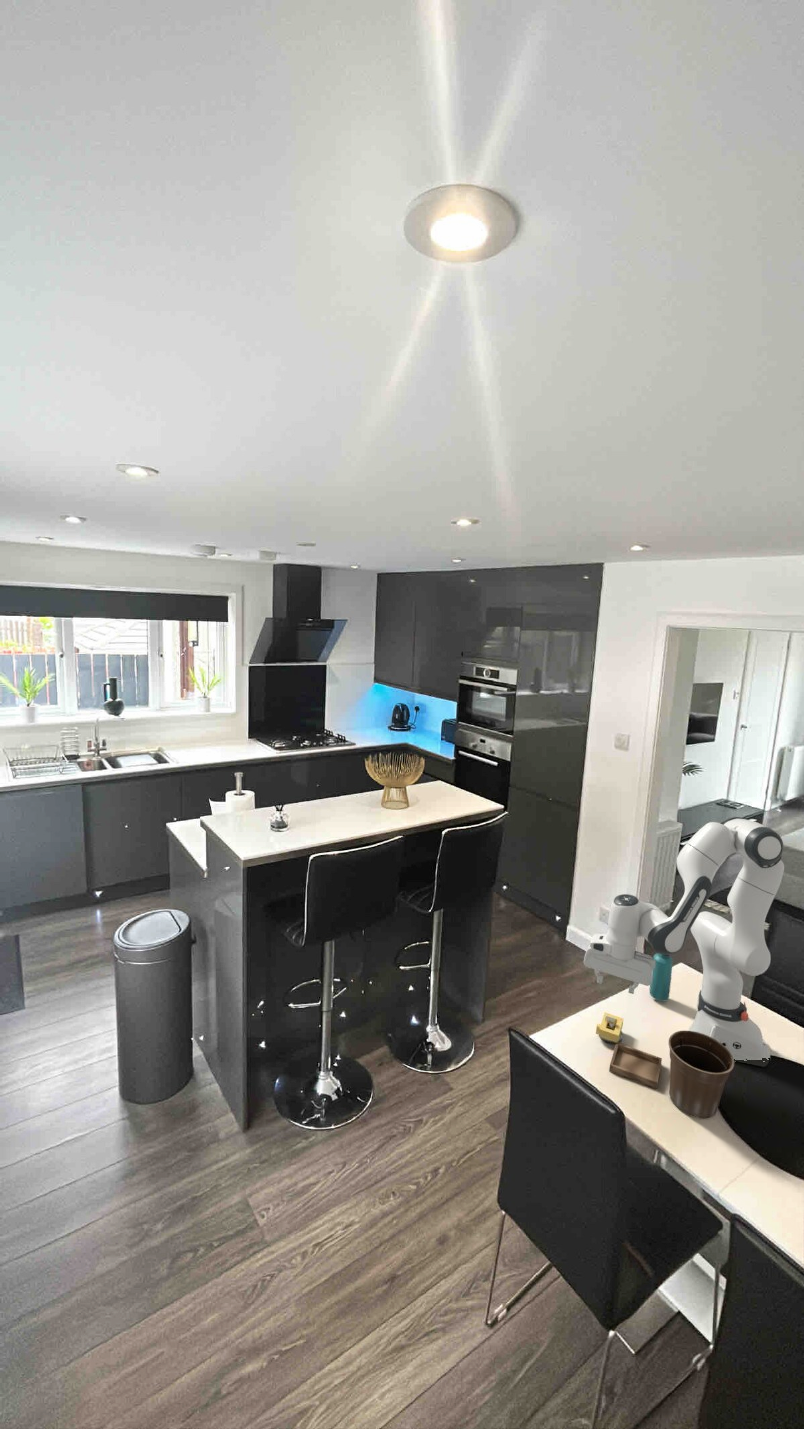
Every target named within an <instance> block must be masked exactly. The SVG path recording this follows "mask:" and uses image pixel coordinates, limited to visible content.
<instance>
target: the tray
mask: <svg viewBox="0 0 804 1429" xmlns="http://www.w3.org/2000/svg"><path fill="white" fill-rule="evenodd" d="M662 1060H663V1058H662V1057H659V1056H656V1055H653V1054H651V1053H648V1052H645V1051H643V1050H639V1049H636V1048H634V1047H631V1046H629V1045H625V1044H623V1043H616V1045H615V1046H614V1050H613V1054H612V1056H611V1060H610V1063H609V1069H608V1072H610V1073H612V1074H614V1075H617V1076H620V1077H623V1078H625V1079H628V1080H631V1081H634V1082H636V1083H639V1084H641V1085H643V1086H646V1087H649V1088H652V1089H655V1090H657V1089H658V1083H659V1078H660V1073H661V1067H662Z"/></svg>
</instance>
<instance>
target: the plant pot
mask: <svg viewBox="0 0 804 1429" xmlns="http://www.w3.org/2000/svg"><path fill="white" fill-rule="evenodd" d="M668 1048H669V1059H670V1063H669V1064H670V1067H669V1083H668V1084H669V1085H668V1086H669V1087H668V1094H669V1098H670V1101H671V1102H672V1103H673V1105H674V1106H675V1107H676V1108H677V1109H679V1110H680V1111H681V1112H682V1113H684V1114H685V1115H687V1116H689V1117H698V1118H699V1119H700V1120H706V1119H710V1118H713V1117H714V1116H715V1115H716V1114H717V1112H718V1108H719V1105H720V1102H721V1099H722V1095H723V1091H724V1089H725V1084H726V1082H727V1080H728V1079H729V1076H730V1073H731V1071H733V1069H734V1068H735V1067H734V1066H735V1061H734V1059H733V1056H732V1054H731V1053H730V1052H729V1050H728V1049H727V1048H726V1047H725V1046H724V1045H722V1044H721V1043H720V1042H718V1041H717V1040H715V1039H713V1038H712V1037H709V1036H707V1035H705V1034H702V1033H698V1032H694V1031H690V1030H678V1031H676V1032H674V1033H672V1034H671V1035H670V1036H669V1038H668Z"/></svg>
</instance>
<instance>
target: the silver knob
mask: <svg viewBox="0 0 804 1429" xmlns="http://www.w3.org/2000/svg"><path fill="white" fill-rule="evenodd" d="M605 1022H608V1023H609V1024H608V1026H607V1028H608V1029H611V1030H613V1031H614V1030H615V1026H614V1023H615V1019H614V1018H611V1017H608V1016H606V1018H605ZM623 1035H624V1034H623V1031H622V1030H621V1034H620V1037H619V1041H618V1043H620V1044H622V1041H623ZM599 1038H600V1040H602V1041H603V1042H604V1043H606V1044H608V1045H612V1046H614V1045H615V1046H616V1042H613V1041H610V1040H607V1039H604V1038H602V1037H599Z"/></svg>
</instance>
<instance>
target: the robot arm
mask: <svg viewBox="0 0 804 1429" xmlns="http://www.w3.org/2000/svg"><path fill="white" fill-rule="evenodd" d="M783 852H784V842H783V839H782V836H780V834H778V832H776V831H775V830H774V829H772V828H770V827H767V826H766V825H764V824H762V823H759V822H757V821H755V820H754V821H753V820H750V819H746V818H744V817H740V816H733V817H729V818H726V819H724V820H723V821H722V822H717V821H716V822H715V821H710V822H708V823H705V825H703V826H702V827H701V828H699V830H698V831H697V832H695V833H694V834H693V836H691V837H690V838H689V840H688V841H687V842H686V844H684V846H683V847H682V848H681V849H680V850H679V853H678V855H677V856H676V857H677V858H676V868H677V871H678V873H679V875H680V877H681V879H682V882H683V885H684V894H683V896H682V897H681V899H680V900H679V902H678V904H677V906H676V908H675V909H674V911H673V912H672V914H671V915H670V917H669V916H668V915H667V914H666V913H665V912H663V911H662V910H661V909H660V908H659V907H658V906H656V905H655V904H653V903H652V902H648V901H642V900H640V899H639V898H638V897H637V896H635V895H633V894H630V893H629V894H628V893H627V894H626V893H625V894H619V895H616V896H615V897H614V898H613V900H612V902H611V905H610V908H609V912H608V919H607V926H608V928H607V931H606V933H594V934H593V935H592V937H591V939H590V943H589V945H588V946H587V949H586V951H585V954H584V958H583V965H584V966H585V967H586V968H589V969H592V970H594V971H593V972H594V974H595V977H596V982H597V983H598V984H603V981H604V980H603V979H604V976H603V975H601V973H605V974H607V975H610V976H615V977H618V978H621V979H624V980H627V981H631V982H633V985H630V984H629V987H628V993H629V994H631V995H634V992H635V990H636V989H637V988H638V987H639V984H640V985H644V986H646V987H650V985H651V983H652V978H653V969H655V964H656V962H655V960H654V957H653V956H652V955H650V954H646V953H643V952H642V951H638V950H637V942H638V938H640V937H642V938H644V939H645V940H646V941H647V943H648V944H649V945H650V946H651V948H653V950H654V951H655V952H656V954H657V953H659V954H662V955H669V956H671V955H673V954H676V953H678V952H680V951H681V949H682V948H683V947H684V945H685V943H686V940H687V937H688V935H689V932H691V935H692V936H693V938H694V940H695V942H696V943H697V947H698V950H699V953H700V956H701V958H700V959H701V963H702V972H703V973H702V982H701V988H700V990H699V993H698V997H697V1004H696V1006H697V1007H696V1008H697V1010H696V1014H695V1017H694V1020H693V1022H692V1024H691V1025H690V1027H689V1031H694V1032H698V1033H702V1034H705V1035H707V1036H709V1037H712V1038H713V1039H715V1040H717V1041H718V1042H720V1043H721V1044H722V1045H724V1046H725V1047H726V1048H727V1049H728V1050H729V1052H730V1053H731V1054H732V1056H733V1059H735V1060H744V1061H747V1060H762V1058H766V1059H767V1060H769V1059H768V1058H770V1059H771V1051H770V1047H769V1045H768V1043H767V1042H766V1040H765V1039H764V1037H763V1033H762V1031H761V1028H760V1026H759V1025H758V1024H757V1023H756V1022H754V1021H753V1020H752V1019H751V1018H750V1017H749V1014H748V1012H747V1010H748V1007H747V1006H746V1002H745V1001H744V1002H742V1001H741V999H742V994H743V988H744V987H743V986H744V981H743V977H742V975H741V973H740V972H742V973H743V974H746V975H749V976H752V977H756V976H759V975H762V974H764V973H765V972H767V970H768V968H769V967H770V965H771V960H772V959H771V958H772V957H771V956H772V955H771V952H770V950H769V948H768V946H767V942H766V940H765V939H766V938H765V922H766V918H767V915H768V913H769V910H770V908H771V905H772V903H773V901H774V900H775V897H776V895H777V893H778V891H779V888H780V886H781V882H782V880H783V876H784V871H785V864H784V862H783V861H782V856H783ZM733 854H738V855H740V856H741V857H743V858H742V859H743V862H742V868H740V870H739V873H738V875H737V876H736V878H735V881H734V883H733V884H732V886H731V888H730V890H729V893H728V894H727V897H726V898H727V904H728V905H727V906H728V907H729V908H730V911H731V913H732V914H731V915H732V922H730V921H729V920H728V919H726V918H724V917H723V916H721V915H719V914H716V913H713V912H710V911H702V910H703V908H704V906H705V904H706V903H707V901H708V900H709V897H710V896H711V893H712V889H713V880H714V877H715V876H716V873H717V872H718V870H719V869H720V867H721V866H722V865H723V863H724V862H725V861H726V860H727V858H728V857H729V856H731V855H733ZM636 950H637V951H636ZM600 972H601V973H600ZM746 1059H747V1060H746ZM763 1062H765V1061H763Z"/></svg>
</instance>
